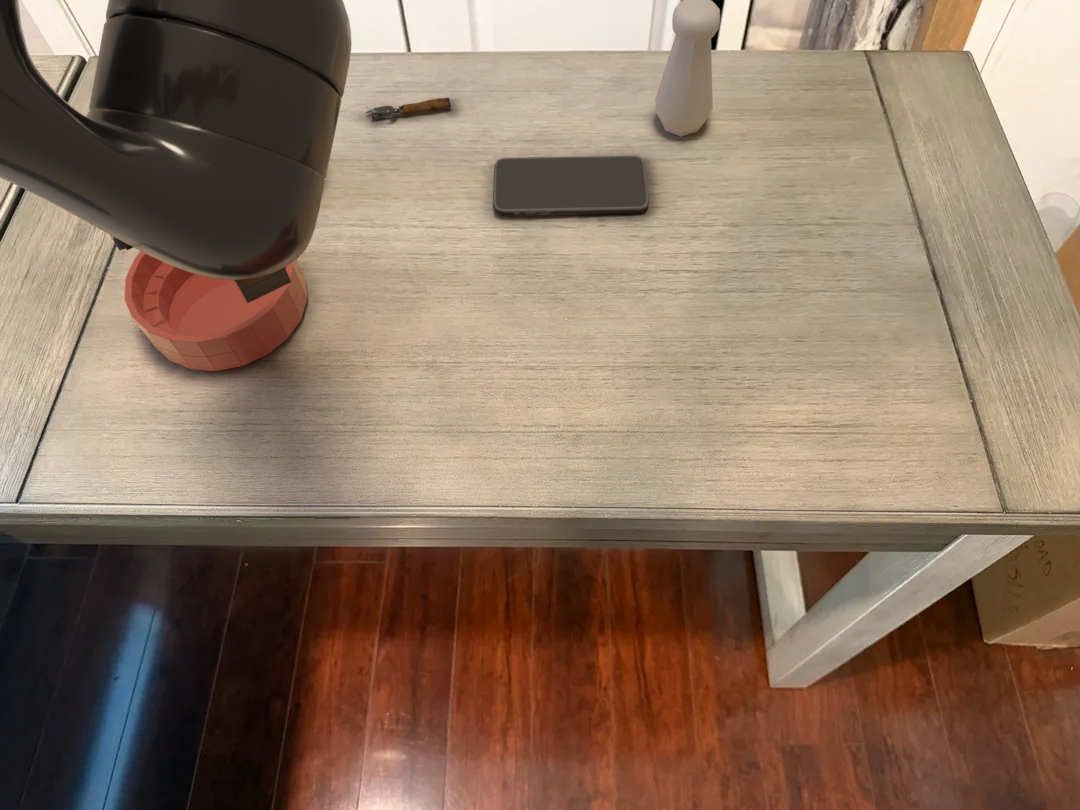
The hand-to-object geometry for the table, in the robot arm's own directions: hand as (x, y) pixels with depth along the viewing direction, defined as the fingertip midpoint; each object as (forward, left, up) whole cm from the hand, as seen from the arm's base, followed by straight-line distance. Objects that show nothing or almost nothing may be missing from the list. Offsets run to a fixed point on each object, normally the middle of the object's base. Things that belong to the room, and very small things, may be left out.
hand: (216, 196), depth 56 cm
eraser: (-1, -2, -6) cm, 6 cm away
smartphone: (+26, -16, -18) cm, 35 cm away
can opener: (+30, +4, -18) cm, 35 cm away
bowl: (+1, +7, -18) cm, 19 cm away
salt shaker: (+39, -23, -18) cm, 49 cm away
